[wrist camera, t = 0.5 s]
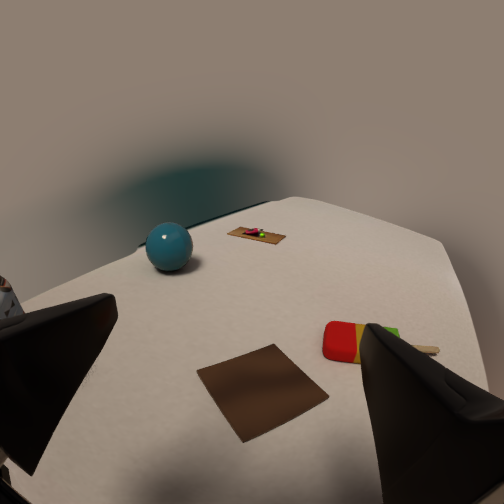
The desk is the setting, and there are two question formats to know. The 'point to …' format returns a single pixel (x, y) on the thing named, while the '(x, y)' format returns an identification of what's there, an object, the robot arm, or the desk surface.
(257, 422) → the coaster
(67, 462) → the desk surface
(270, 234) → the board
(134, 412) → the desk surface
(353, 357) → the popsicle
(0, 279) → the beverage can
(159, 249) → the ball
